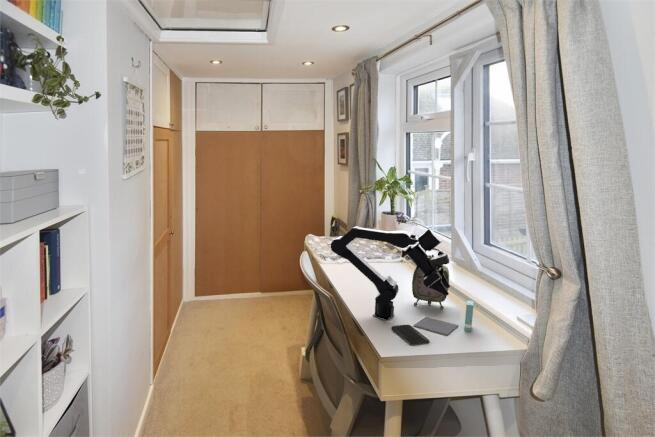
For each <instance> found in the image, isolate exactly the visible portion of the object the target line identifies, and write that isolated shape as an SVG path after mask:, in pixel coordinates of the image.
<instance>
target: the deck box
mask: <svg viewBox="0 0 655 437" xmlns="http://www.w3.org/2000/svg"><path fill="white" fill-rule="evenodd" d="M474 307H475V306H474V301H473V300H466V303H465V317H464V328H463V331H464V332H472V327H473V315H474Z"/></svg>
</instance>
